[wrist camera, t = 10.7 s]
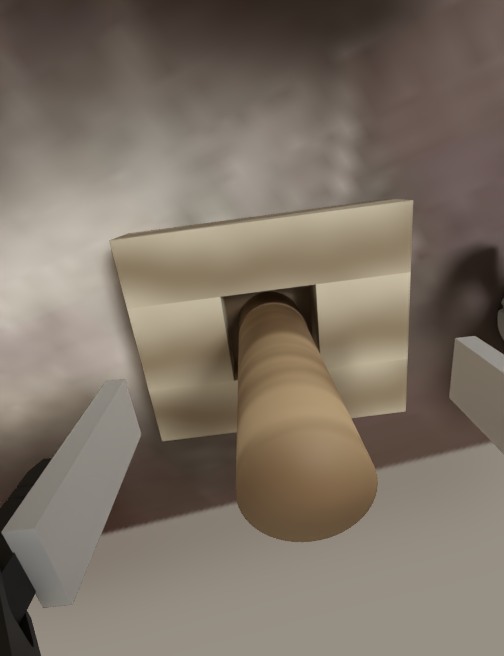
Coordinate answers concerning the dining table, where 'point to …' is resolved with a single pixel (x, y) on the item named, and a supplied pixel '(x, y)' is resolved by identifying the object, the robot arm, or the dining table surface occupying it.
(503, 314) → the mug
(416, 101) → the dining table surface
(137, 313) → the wooden block with hole
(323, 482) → the leg
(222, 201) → the dining table surface
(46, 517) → the robot arm
